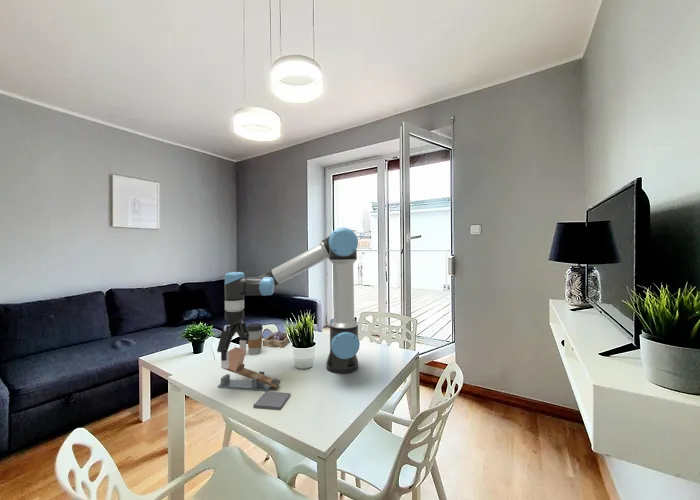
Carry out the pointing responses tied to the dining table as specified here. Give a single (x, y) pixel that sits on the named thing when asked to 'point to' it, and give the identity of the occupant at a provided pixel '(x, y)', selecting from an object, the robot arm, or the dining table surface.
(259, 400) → the pad
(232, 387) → the fulcrum
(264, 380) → the lever
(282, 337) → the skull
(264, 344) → the rock tray
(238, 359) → the block
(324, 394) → the dining table surface
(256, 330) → the coffee cup
